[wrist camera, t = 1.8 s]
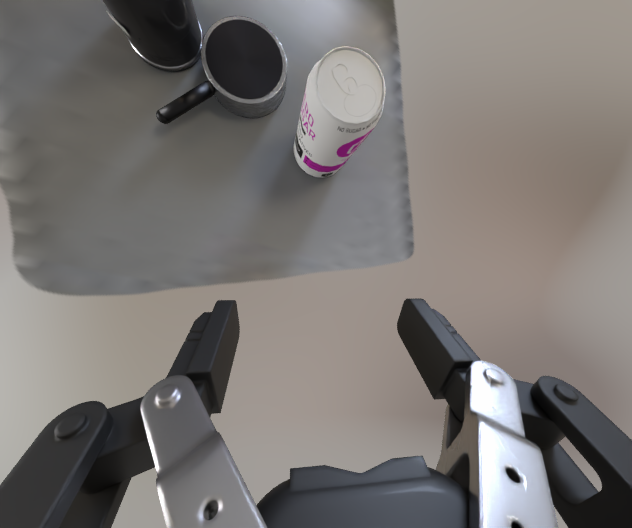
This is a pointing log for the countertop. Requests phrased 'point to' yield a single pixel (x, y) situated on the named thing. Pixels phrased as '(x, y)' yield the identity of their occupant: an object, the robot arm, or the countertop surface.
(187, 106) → the saucepan
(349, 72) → the supplement can
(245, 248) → the countertop surface
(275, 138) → the countertop surface
